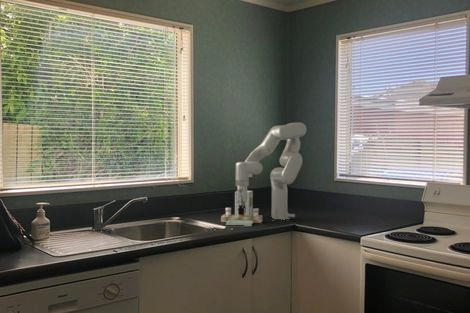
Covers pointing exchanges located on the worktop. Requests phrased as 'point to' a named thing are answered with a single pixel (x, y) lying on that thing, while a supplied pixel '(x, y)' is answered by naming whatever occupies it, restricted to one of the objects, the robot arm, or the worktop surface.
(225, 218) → the fuse block
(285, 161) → the robot arm
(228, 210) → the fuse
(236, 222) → the tray
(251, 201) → the supplement box
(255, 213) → the fuse
